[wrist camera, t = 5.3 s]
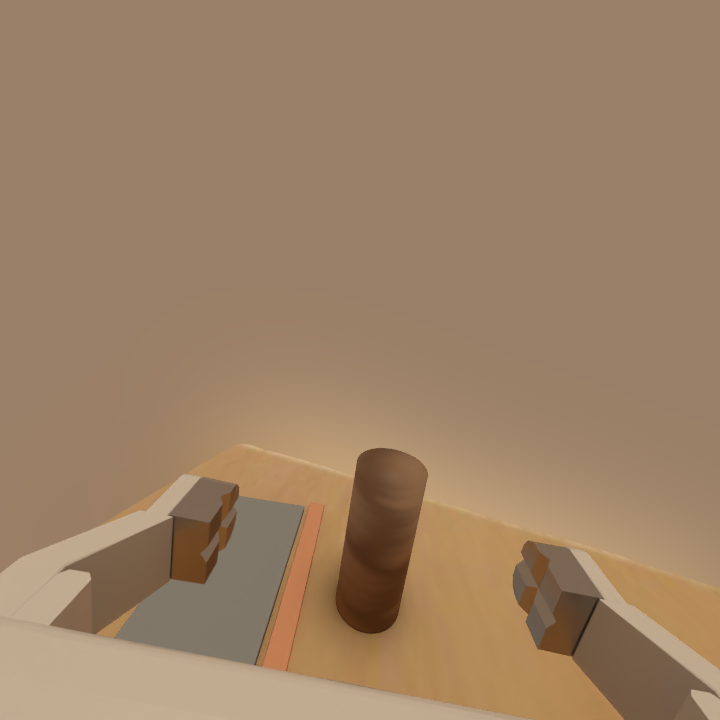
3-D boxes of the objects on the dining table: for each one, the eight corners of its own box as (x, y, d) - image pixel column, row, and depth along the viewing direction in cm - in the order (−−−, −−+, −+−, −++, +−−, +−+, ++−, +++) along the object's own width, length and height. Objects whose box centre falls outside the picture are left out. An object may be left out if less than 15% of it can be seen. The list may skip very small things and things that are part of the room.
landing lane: (324, 507, 37) (324, 503, 36) (263, 767, 17) (264, 761, 17) (223, 491, 37) (224, 487, 37) (51, 732, 17) (50, 725, 17)
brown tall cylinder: (396, 578, 29) (422, 453, 26) (400, 638, 24) (433, 494, 21) (339, 569, 29) (358, 444, 26) (331, 627, 24) (354, 481, 21)
